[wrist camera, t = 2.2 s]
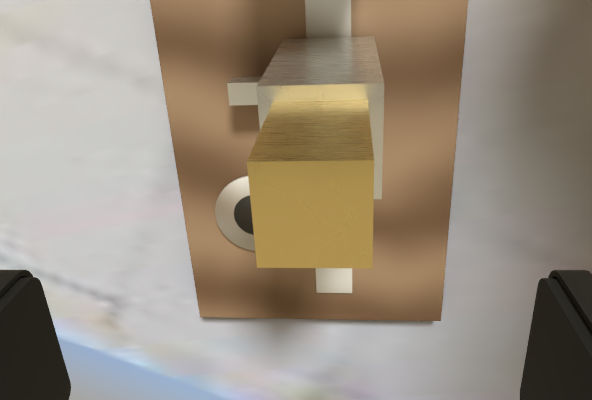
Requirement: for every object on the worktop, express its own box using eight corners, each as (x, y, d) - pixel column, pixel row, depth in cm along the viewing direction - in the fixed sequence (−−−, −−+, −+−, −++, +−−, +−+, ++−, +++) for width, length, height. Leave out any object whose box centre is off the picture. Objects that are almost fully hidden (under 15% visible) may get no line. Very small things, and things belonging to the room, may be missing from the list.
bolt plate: (105, -351, 20) (-76, -554, 12) (494, -394, 19) (616, -661, 10) (205, 304, 34) (154, 435, 25) (437, 307, 32) (469, 448, 24)
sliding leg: (230, 41, 25) (125, 143, 13) (374, 36, 24) (396, 139, 12) (239, 126, 26) (152, 282, 15) (372, 123, 26) (391, 285, 14)
